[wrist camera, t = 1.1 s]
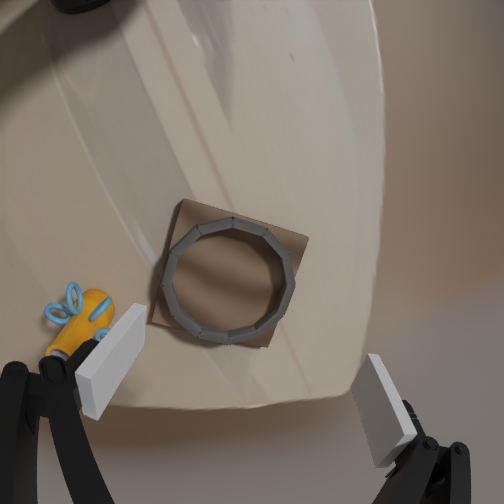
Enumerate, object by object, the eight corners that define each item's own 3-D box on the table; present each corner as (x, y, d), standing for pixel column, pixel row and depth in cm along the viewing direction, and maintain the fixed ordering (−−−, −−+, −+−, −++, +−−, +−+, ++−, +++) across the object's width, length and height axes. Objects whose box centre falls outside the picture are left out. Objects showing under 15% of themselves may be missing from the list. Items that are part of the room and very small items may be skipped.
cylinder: (58, 272, 37) (8, 312, 23) (118, 263, 39) (82, 306, 24) (80, 342, 40) (47, 400, 26) (137, 338, 42) (118, 402, 28)
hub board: (183, 198, 38) (182, 200, 35) (305, 235, 43) (314, 240, 39) (153, 317, 41) (150, 328, 38) (265, 342, 46) (270, 354, 42)
